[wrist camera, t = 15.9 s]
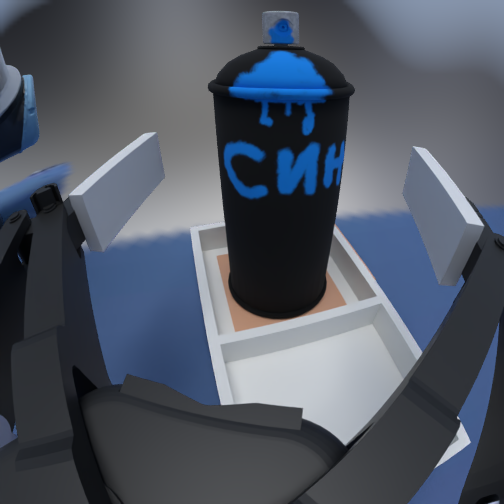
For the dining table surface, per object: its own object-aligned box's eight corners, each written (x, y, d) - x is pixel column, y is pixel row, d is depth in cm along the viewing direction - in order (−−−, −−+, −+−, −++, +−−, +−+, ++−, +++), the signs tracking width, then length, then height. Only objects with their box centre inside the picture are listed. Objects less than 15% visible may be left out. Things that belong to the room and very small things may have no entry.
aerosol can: (228, 251, 28) (208, 20, 15) (315, 246, 28) (331, 22, 15) (228, 323, 22) (193, 7, 9) (336, 315, 22) (384, 17, 9)
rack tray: (195, 256, 29) (190, 227, 27) (319, 233, 32) (322, 206, 29) (258, 533, 11) (257, 539, 9) (446, 454, 13) (473, 439, 11)
